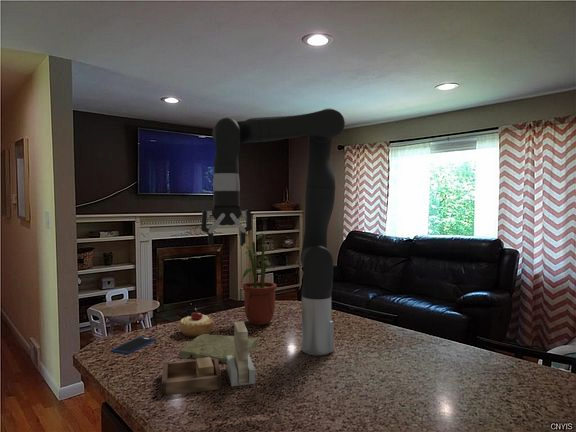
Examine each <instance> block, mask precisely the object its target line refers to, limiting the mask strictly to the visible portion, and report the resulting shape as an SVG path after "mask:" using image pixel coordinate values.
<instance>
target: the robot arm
mask: <svg viewBox="0 0 576 432" xmlns="http://www.w3.org/2000/svg"><path fill="white" fill-rule="evenodd" d="M217 121H218V122H216V123H215V125H214V127H213V128H212V134H211V135H212V138H213V141H214V142H215V155H214V158H213V180H212V188H213V189H212V193H213V194H212V196H213V197H212V198H213V201H212V204H213V207H212V210H205V209H203V210H202V212H201V227H200V228H201V231H202V232H204V233H207V243H208V245H209V246H210V247H211V248H214V246H215V245H214V232H215V230H216V228H217V227H218V226H219V225H220V226H226V225H228V226H233V225H235V226H236V227H237V229H238V230H239V231H240V232H239V246H241V247H243V246H244V245H245V244H246V241H247V238H246V236H247V235H246V234H247V232H249V231H252V230H253V225H252V211H251V210H250V209H246V210H242V209H241V207H240V206H241V205H240V204H241V199H240V197H241V195H240V194H241V193H240V191H241V186H240V184H241V183H240V182H241V181H240V174H239V173H240V172H239V167H240V165H239V152H240V145H242V144H248V143H263V142H273V141H281V140H286V139H290V138H296V137H304V136H307V138H308V160H307V170H306V171H307V172H306V183H305V196H304V198H305V199H304V234H303V240H302V245H301V246H302V247H301V252H300V264H301V265H302V268H303V273H302V275H303V279H302V280H303V282H302V286H301V352H303V353H304V354H306V355H309V356H325V355H326V356H327V355H328V354H330V353H334V352H335V351H334V343H335V342H334V338H335V337H334V327H335V326H334V321H333V320H332V290H333V288H334V287H333V286H334V258H333V255H332V253H331V252H330V250H329V249H328V243H327V242H328V230H329V229H328V228H329V224H330V219H331V217H332V214H333V211H334V206H335V199H336V198H335V195H336V178H335V177H336V176H335V173H334V170H333V167H332V161H331V152H332V151H331V150H332V141H333V139H335V138H337V137H338V136H339V135H341V134H342V133H343V131H344V128H345V123H346V122H345V118H344V116H343V114H342V113H341V112H340V111H339V110H338V109H335V108H330V107H329V108H324V109H322V110H318V111H314V112H310V113H304V114H303V113H302V114H296V115H285V116H284V115H283V116H282V115H281V116H280V115H279V116H262V117H251V118H248V119H246V120H241V121H236V120H235V119H233V118H231V117H223V118H221V119H219V120H217ZM241 215H242V216H243V217H244V218H245V223H246V226H245V227H244V226H243V224H242V223H241V221H240V220H239V219H240V217H241ZM210 216H212V217H213V218H214V219H215V220H214V221H213V222H212V224H211V225H210V227H209V228H208V227H207V221H208V220H207V219H209V218H210Z"/></svg>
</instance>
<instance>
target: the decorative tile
mask: <svg viewBox="0 0 576 432" xmlns="http://www.w3.org/2000/svg"><path fill="white" fill-rule="evenodd" d="M257 346H258V339H257V338H256V337H248V354H249V353H250V352H251V350H252V349H253V348H254V347H255V348H256V347H257ZM229 355H232V356H233V359H234V362H235V357H234V335H223V334H222V335H221V334H216V335H215V334H210V333H209V334H202V335H200V336H198V337H194V338H193V339H192V340H191V341H190V342H188V344H186V345H185V346H183V347H182V349H180V350H179V354H178V358H179V359H180V358H181V359H183V358H184V359H185V358H187V359H189V358H193V359H195V360H196V359H198V358H205V357H210V358H217V359H218V363H220V362H221V364H222V363H225V364H227V356H229Z"/></svg>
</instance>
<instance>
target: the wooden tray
mask: <svg viewBox="0 0 576 432" xmlns="http://www.w3.org/2000/svg"><path fill="white" fill-rule="evenodd" d="M211 361H212V363H213V366H214V376H207V377H198V378H197V376H196V359H188V360H180V361H169V362H163V369H162V374H161V375H162V376H161V377H162V378H161V397H166V396H175V395H182V394H183V395H184V394H189V393H190V394H191V393H200V392H207V391H209V392H210V391H216V390H222V389H223V385H222V381H223V380H222V373H221V369H220V368H221V367H220V364H219V363H220V362H218V359H217V358H211Z"/></svg>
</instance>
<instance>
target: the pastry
mask: <svg viewBox="0 0 576 432" xmlns="http://www.w3.org/2000/svg"><path fill="white" fill-rule="evenodd" d="M194 310H195V311H196V312H191V315H187V316H184V317H183V318H181V319H180V320H179V322H178V323H179V324H178V325H179V331H180V332H181V334H182V335H183V336H184V337H185V336H186V337H189V338H196V337H198V336H200V335H202V334H209V335H210V333H211V332H212V330H213V328H214V319H213V318H212V317H211V316H210V315H208V316H207V315H205V314H202V313H201V312H198V310H197V308H196V307H194Z"/></svg>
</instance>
